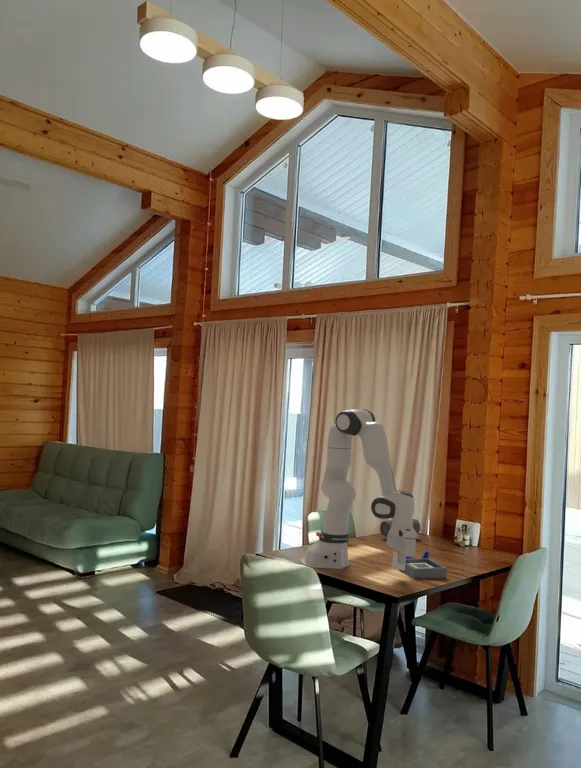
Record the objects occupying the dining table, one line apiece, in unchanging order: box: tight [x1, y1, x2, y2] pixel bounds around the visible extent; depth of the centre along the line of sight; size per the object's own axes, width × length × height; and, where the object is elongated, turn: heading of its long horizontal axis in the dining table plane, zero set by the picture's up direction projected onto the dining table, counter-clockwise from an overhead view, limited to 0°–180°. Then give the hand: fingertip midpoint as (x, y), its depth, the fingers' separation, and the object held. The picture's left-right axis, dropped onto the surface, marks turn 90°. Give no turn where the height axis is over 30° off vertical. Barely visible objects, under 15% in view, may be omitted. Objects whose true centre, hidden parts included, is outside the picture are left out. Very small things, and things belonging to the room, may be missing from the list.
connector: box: [391, 549, 406, 571], centre depth 277 cm, size 4×4×8 cm
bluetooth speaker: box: [379, 518, 421, 537], centre depth 365 cm, size 23×9×10 cm, turn 121°
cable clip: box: [406, 550, 430, 559], centre depth 311 cm, size 12×4×6 cm, turn 67°
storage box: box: [399, 557, 448, 579], centre depth 290 cm, size 16×16×5 cm
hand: (398, 562), depth 277 cm, fingers closed on connector, 4 cm apart
